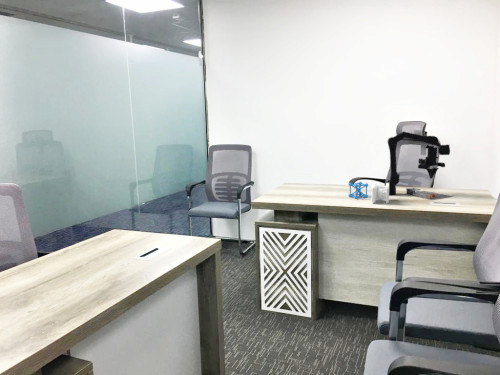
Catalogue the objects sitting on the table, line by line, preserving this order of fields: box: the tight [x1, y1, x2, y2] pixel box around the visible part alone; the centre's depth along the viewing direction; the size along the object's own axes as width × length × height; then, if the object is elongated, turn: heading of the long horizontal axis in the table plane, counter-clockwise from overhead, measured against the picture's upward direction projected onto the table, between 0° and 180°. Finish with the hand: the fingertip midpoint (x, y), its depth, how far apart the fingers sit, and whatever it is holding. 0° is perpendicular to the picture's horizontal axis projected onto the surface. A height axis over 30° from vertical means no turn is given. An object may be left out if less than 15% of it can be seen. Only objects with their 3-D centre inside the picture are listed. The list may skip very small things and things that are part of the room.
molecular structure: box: [348, 181, 369, 200], centre depth 276 cm, size 10×10×10 cm
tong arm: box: [415, 190, 437, 198], centre depth 269 cm, size 14×2×2 cm, turn 31°
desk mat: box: [404, 190, 455, 201], centre depth 273 cm, size 20×25×1 cm
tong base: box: [405, 187, 432, 200], centre depth 270 cm, size 20×6×5 cm, turn 25°
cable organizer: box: [370, 182, 390, 204], centre depth 259 cm, size 15×11×12 cm
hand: (431, 178), depth 271 cm, fingers closed
